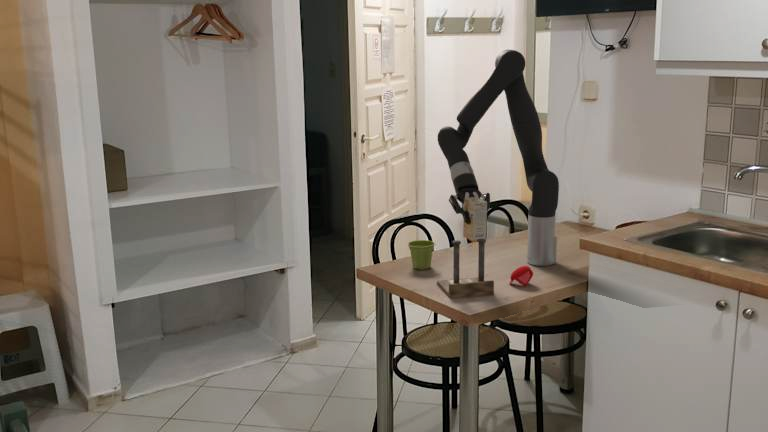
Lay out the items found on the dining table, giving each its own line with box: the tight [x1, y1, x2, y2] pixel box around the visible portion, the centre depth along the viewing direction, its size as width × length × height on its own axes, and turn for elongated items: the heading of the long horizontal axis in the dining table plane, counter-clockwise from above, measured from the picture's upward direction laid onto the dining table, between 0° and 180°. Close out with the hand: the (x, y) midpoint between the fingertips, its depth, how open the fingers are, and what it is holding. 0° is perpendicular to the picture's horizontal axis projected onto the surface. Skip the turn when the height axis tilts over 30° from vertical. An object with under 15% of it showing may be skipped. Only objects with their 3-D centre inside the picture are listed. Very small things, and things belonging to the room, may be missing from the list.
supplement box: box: [462, 197, 488, 243], centre depth 241 cm, size 8×5×13 cm, turn 17°
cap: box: [509, 265, 534, 287], centre depth 241 cm, size 8×6×6 cm
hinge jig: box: [436, 238, 495, 299], centre depth 236 cm, size 14×15×17 cm
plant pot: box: [407, 239, 436, 271], centre depth 262 cm, size 9×9×9 cm
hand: (476, 222), depth 239 cm, fingers closed on supplement box, 5 cm apart
